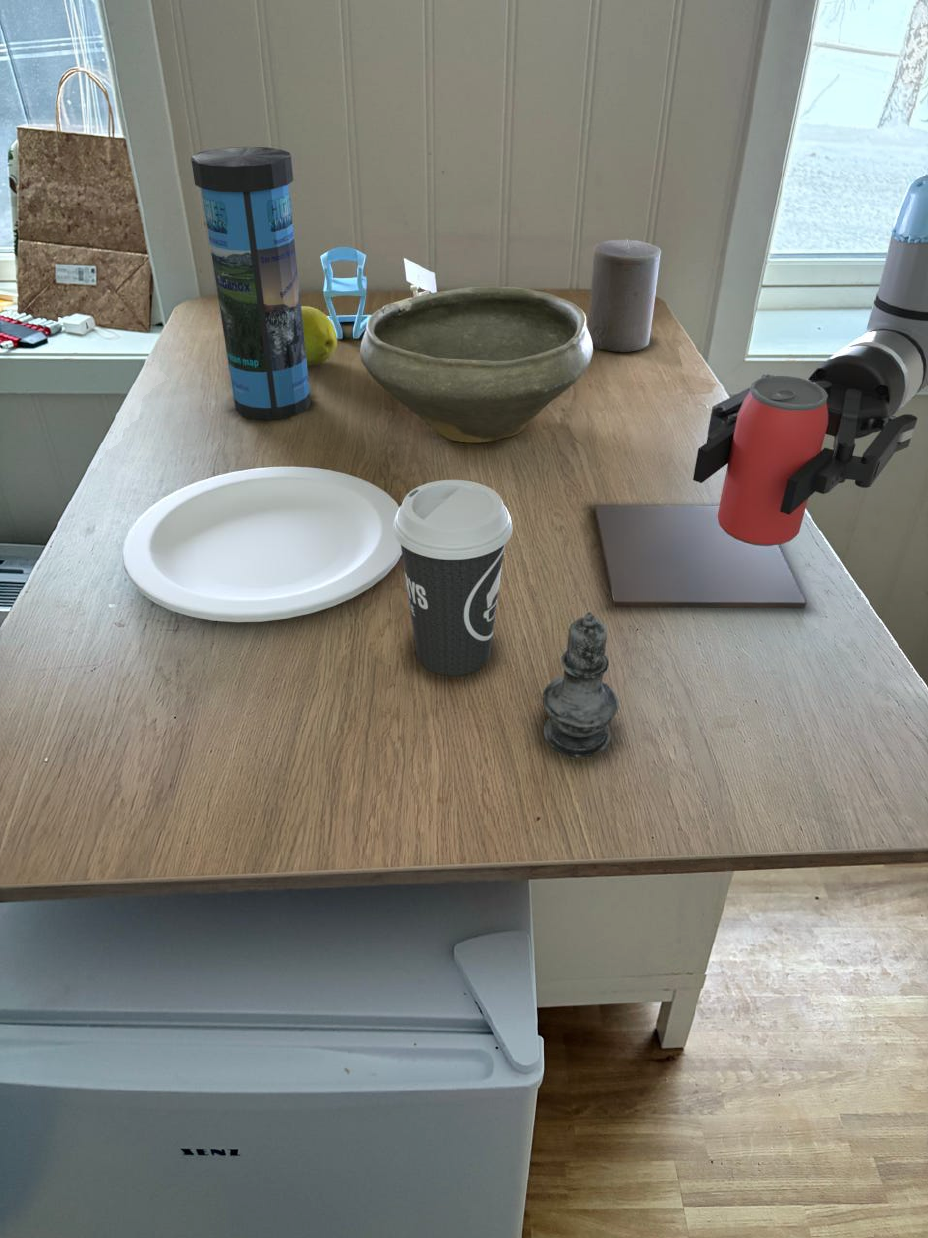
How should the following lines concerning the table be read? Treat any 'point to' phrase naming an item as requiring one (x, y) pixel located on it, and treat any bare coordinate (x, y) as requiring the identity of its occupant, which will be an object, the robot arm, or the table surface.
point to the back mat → (688, 561)
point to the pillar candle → (623, 294)
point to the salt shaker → (581, 693)
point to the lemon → (317, 335)
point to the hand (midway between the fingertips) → (743, 480)
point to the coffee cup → (453, 570)
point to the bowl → (477, 357)
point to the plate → (263, 544)
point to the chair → (345, 289)
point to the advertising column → (256, 276)
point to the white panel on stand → (420, 278)
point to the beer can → (771, 458)
